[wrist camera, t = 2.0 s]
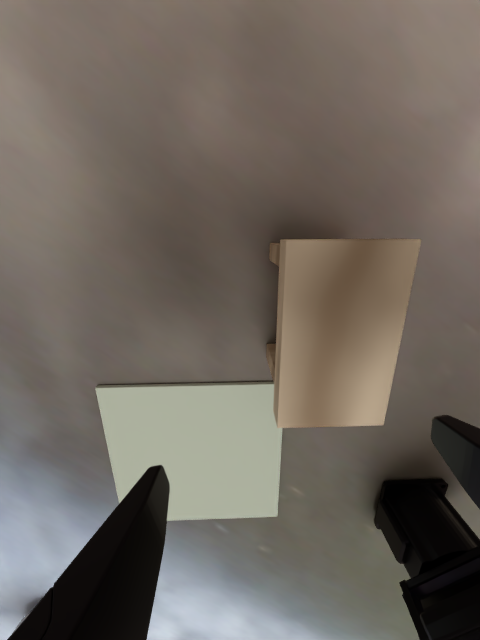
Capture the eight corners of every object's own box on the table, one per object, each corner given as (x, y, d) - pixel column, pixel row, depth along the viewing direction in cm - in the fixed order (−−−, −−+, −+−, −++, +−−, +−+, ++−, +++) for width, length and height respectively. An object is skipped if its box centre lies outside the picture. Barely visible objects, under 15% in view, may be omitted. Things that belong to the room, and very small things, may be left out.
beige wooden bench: (346, 236, 19) (421, 239, 12) (331, 359, 22) (383, 425, 15) (264, 237, 19) (286, 240, 11) (261, 361, 22) (277, 428, 15)
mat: (283, 381, 23) (284, 383, 22) (276, 512, 28) (277, 516, 28) (97, 385, 22) (95, 388, 22) (124, 518, 27) (123, 522, 27)
